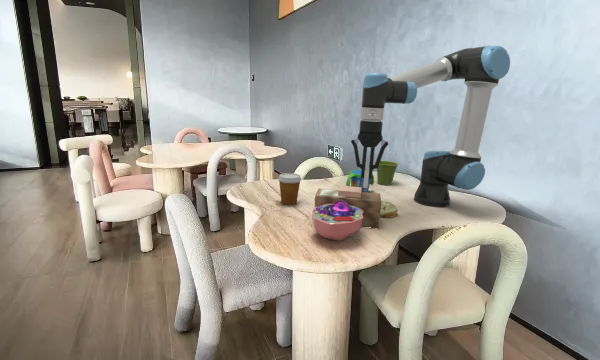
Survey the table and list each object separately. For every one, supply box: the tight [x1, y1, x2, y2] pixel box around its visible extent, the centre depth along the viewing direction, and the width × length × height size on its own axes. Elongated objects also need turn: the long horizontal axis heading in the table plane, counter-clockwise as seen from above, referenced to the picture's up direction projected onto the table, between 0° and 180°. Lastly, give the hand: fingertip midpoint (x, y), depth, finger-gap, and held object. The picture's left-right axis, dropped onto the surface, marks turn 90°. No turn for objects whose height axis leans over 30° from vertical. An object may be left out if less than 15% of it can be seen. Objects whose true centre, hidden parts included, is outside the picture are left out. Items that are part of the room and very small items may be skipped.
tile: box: [337, 185, 361, 198], centre depth 126 cm, size 2×7×8 cm
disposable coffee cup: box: [277, 172, 302, 207], centre depth 145 cm, size 10×10×12 cm
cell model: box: [311, 201, 363, 241], centre depth 114 cm, size 17×20×11 cm
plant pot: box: [376, 160, 399, 186], centre depth 183 cm, size 12×12×11 cm
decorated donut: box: [380, 200, 399, 218], centre depth 139 cm, size 11×12×4 cm
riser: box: [314, 188, 382, 229], centre depth 128 cm, size 23×10×10 cm, turn 80°
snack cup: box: [345, 169, 375, 193], centre depth 164 cm, size 16×10×10 cm
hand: (365, 186), depth 125 cm, fingers closed
